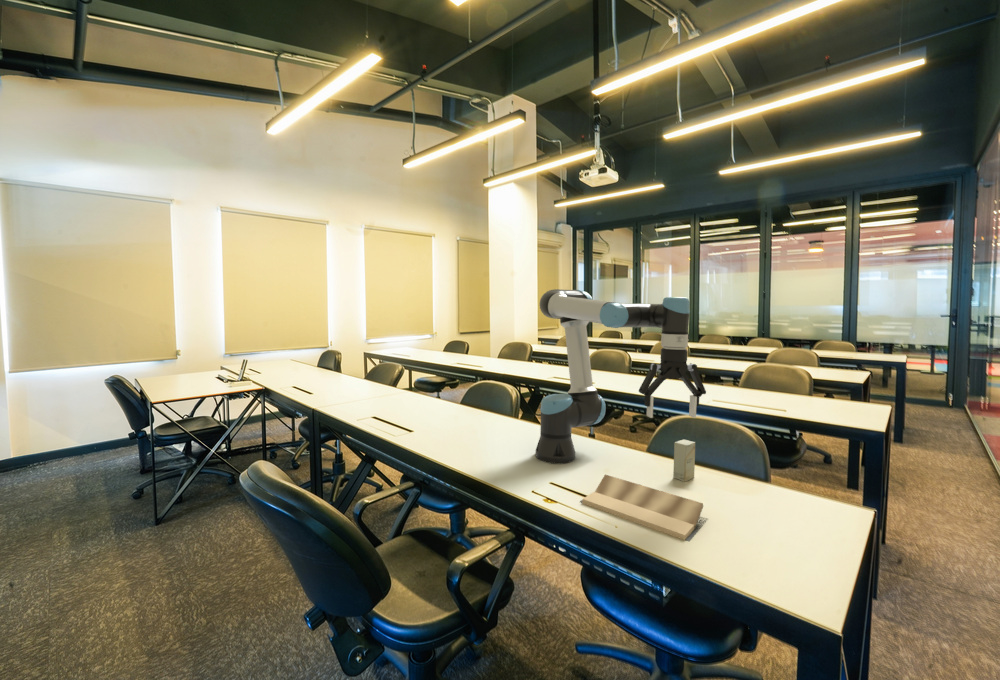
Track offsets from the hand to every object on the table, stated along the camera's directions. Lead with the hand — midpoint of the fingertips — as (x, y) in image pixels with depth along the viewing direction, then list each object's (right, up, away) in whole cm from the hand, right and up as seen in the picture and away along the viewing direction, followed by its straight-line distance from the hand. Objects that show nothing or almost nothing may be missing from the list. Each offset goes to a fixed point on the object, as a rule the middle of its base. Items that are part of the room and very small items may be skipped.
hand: (671, 416), depth 129 cm
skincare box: (+9, -23, +11) cm, 27 cm away
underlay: (-14, -24, -14) cm, 31 cm away
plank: (-12, -21, -12) cm, 27 cm away
